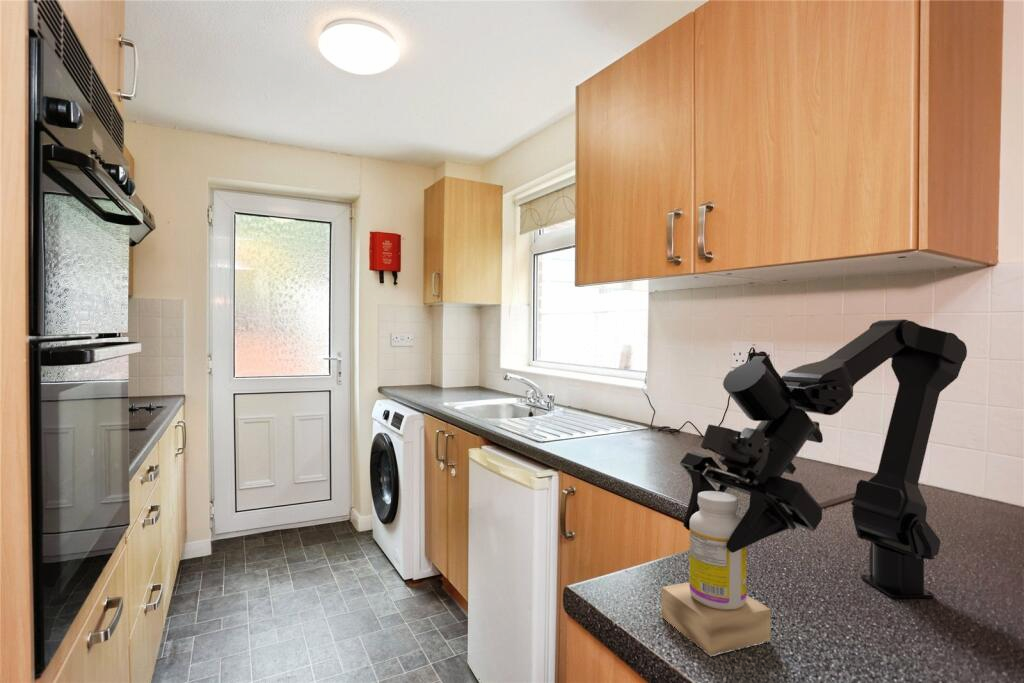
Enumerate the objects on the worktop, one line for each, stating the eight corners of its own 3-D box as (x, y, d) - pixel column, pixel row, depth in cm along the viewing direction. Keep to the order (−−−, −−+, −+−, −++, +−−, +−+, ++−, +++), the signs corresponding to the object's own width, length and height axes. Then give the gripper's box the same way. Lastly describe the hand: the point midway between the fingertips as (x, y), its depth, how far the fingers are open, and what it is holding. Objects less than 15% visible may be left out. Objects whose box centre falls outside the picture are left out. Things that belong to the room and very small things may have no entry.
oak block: (770, 642, 61) (770, 609, 61) (710, 657, 58) (710, 622, 58) (716, 606, 69) (716, 577, 70) (661, 617, 66) (661, 586, 66)
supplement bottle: (724, 584, 67) (725, 487, 68) (758, 609, 61) (759, 502, 61) (678, 588, 66) (679, 489, 66) (708, 614, 60) (709, 505, 60)
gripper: (690, 396, 74) (625, 478, 70) (804, 412, 57) (725, 522, 53) (733, 446, 77) (672, 528, 73) (853, 476, 59) (782, 586, 55)
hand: (706, 538), depth 63 cm, fingers open, 7 cm apart
